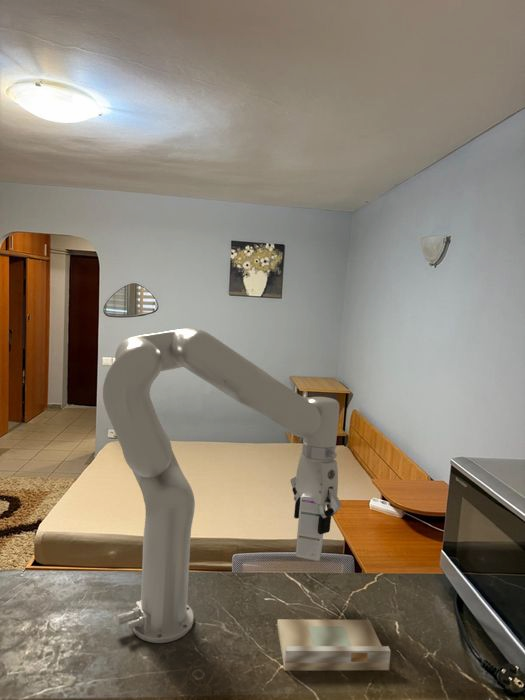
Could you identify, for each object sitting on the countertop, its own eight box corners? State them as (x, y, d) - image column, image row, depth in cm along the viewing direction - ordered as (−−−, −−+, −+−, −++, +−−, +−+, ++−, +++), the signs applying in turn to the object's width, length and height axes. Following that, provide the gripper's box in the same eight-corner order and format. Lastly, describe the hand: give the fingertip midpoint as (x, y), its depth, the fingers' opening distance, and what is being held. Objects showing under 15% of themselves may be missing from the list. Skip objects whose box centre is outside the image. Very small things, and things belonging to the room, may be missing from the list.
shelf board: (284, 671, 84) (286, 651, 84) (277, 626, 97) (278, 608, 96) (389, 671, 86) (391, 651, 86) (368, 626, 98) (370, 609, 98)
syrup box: (320, 562, 103) (326, 500, 102) (294, 557, 104) (300, 495, 103) (321, 549, 109) (328, 490, 108) (297, 545, 110) (303, 486, 109)
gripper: (357, 461, 100) (349, 538, 101) (306, 439, 114) (299, 507, 115) (332, 465, 95) (324, 545, 97) (282, 442, 110) (276, 512, 111)
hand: (311, 524), depth 106 cm, fingers closed on syrup box, 7 cm apart
